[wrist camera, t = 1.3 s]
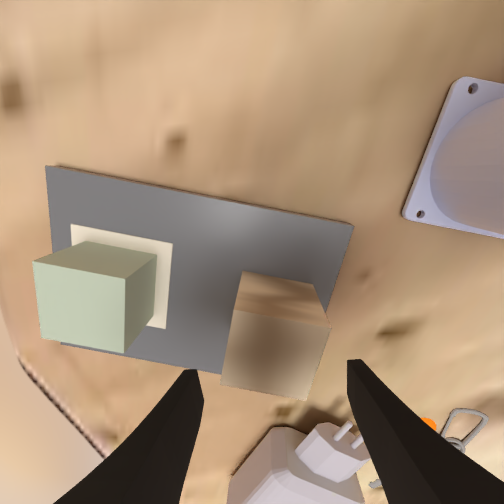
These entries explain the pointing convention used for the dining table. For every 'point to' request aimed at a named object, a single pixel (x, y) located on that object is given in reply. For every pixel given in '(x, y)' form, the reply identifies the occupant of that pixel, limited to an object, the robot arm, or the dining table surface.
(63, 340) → the sage base block
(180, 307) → the board
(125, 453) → the robot arm
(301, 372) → the maple block
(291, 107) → the dining table surface
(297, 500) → the charger
